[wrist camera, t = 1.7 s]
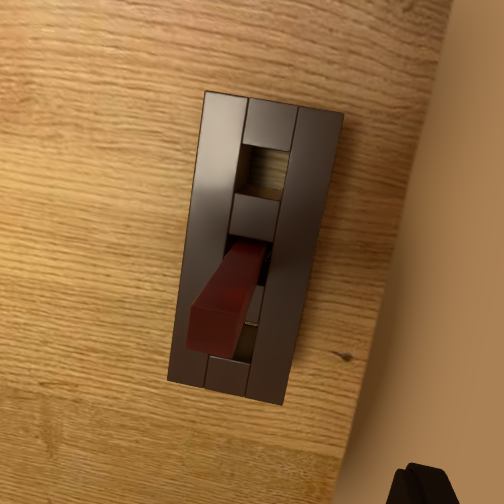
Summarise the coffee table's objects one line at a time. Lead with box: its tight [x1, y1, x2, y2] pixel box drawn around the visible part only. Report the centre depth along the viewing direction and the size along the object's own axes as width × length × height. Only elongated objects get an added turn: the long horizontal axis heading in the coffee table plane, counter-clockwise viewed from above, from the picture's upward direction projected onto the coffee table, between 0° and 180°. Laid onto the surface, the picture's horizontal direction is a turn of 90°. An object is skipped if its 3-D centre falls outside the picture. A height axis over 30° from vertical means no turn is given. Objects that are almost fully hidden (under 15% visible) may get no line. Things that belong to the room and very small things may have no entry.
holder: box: [167, 90, 344, 406], centre depth 25 cm, size 7×16×5 cm, turn 170°
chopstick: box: [185, 236, 269, 359], centre depth 20 cm, size 2×2×14 cm
